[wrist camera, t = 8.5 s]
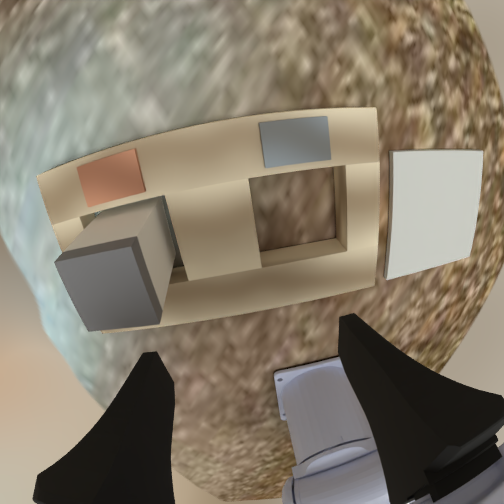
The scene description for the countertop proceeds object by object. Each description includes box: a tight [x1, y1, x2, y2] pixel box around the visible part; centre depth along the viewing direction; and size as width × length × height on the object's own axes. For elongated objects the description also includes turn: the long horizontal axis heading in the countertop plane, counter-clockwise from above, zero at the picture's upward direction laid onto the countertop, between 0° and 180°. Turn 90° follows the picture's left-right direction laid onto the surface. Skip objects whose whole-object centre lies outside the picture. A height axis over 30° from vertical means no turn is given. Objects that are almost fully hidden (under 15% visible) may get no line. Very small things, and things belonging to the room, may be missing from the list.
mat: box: [384, 149, 483, 280], centre depth 19 cm, size 10×10×1 cm
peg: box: [54, 196, 176, 332], centre depth 15 cm, size 4×4×7 cm
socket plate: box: [36, 107, 380, 334], centre depth 17 cm, size 12×20×2 cm, turn 98°
